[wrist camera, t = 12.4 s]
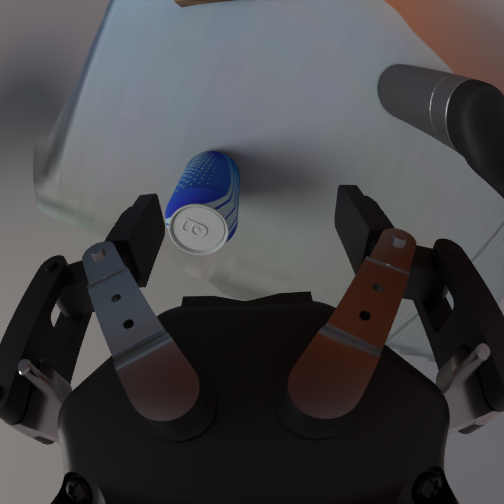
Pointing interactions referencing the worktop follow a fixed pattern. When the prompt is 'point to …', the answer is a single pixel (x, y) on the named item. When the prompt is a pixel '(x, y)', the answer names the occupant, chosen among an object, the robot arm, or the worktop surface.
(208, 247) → the beer can
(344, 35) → the worktop surface
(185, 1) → the wooden square frame
